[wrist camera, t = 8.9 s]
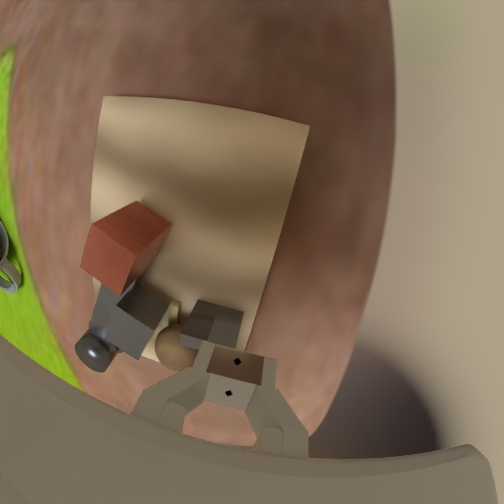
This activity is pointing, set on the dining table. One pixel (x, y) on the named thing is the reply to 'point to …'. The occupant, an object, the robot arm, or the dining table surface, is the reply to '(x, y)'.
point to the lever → (122, 284)
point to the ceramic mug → (7, 264)
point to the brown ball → (174, 349)
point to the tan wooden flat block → (200, 204)
